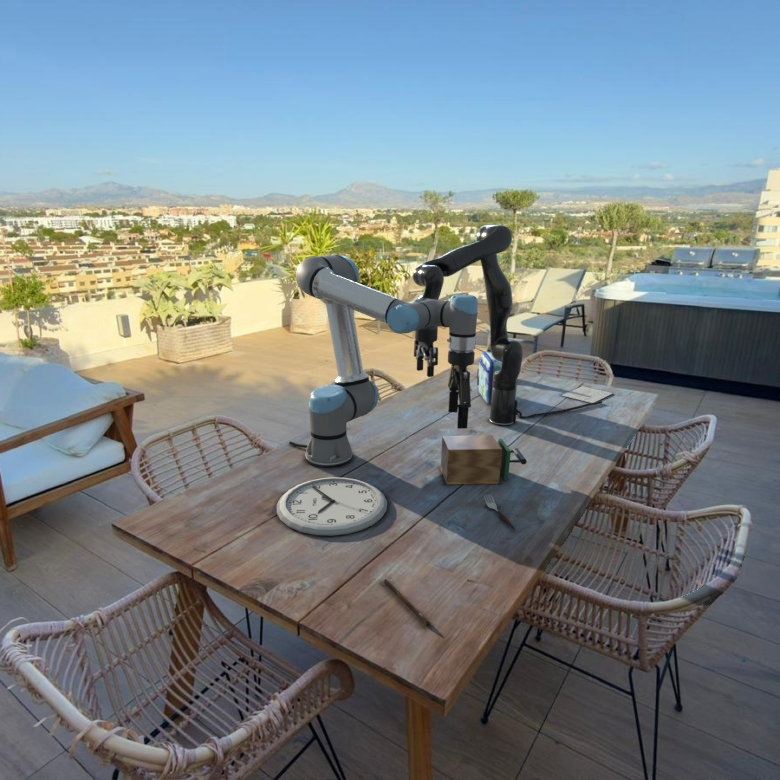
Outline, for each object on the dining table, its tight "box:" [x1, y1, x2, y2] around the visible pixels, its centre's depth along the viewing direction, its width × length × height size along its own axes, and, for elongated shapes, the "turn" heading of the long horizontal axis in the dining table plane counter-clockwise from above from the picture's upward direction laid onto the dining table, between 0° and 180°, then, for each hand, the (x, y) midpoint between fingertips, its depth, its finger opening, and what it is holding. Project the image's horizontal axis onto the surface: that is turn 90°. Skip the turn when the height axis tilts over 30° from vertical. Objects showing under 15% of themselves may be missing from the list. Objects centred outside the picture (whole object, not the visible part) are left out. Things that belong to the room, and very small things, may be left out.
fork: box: [483, 493, 516, 530], centre depth 139 cm, size 3×16×2 cm, turn 15°
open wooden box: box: [440, 434, 502, 485], centre depth 160 cm, size 16×11×11 cm
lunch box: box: [476, 351, 502, 406], centre depth 230 cm, size 26×11×21 cm, turn 179°
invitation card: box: [560, 385, 613, 404], centre depth 242 cm, size 21×1×15 cm
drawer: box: [497, 438, 528, 480], centre depth 160 cm, size 20×9×9 cm, turn 94°
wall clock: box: [276, 476, 388, 537], centre depth 142 cm, size 30×2×30 cm
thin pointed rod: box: [383, 578, 429, 627], centre depth 106 cm, size 15×1×1 cm, turn 34°
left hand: (457, 419), depth 155 cm, fingers open, 13 cm apart
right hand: (424, 373), depth 179 cm, fingers open, 8 cm apart
